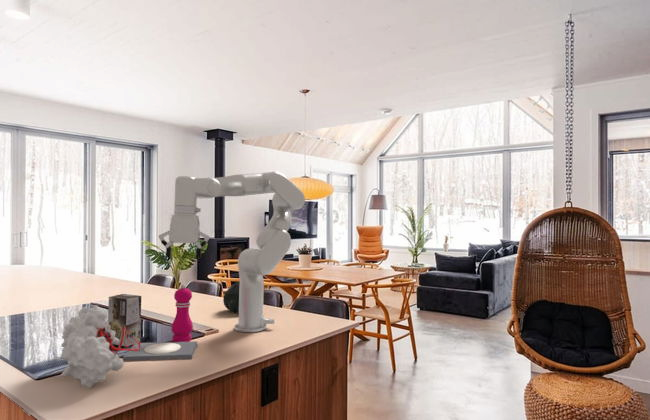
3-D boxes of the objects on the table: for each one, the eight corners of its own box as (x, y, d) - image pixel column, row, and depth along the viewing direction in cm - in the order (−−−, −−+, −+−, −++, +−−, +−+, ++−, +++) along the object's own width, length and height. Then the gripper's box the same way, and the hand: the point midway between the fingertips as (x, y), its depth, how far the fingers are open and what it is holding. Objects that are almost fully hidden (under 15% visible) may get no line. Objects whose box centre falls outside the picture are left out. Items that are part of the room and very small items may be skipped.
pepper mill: (195, 338, 154) (197, 282, 154) (187, 343, 146) (189, 285, 147) (176, 337, 154) (178, 282, 155) (167, 342, 147) (169, 285, 147)
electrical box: (141, 342, 147) (142, 295, 147) (125, 347, 141) (126, 298, 141) (122, 338, 151) (124, 293, 151) (106, 343, 145) (108, 296, 145)
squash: (250, 295, 210) (233, 274, 204) (266, 301, 199) (248, 279, 192) (230, 316, 203) (211, 295, 197) (245, 324, 192) (226, 302, 185)
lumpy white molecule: (134, 393, 122) (97, 332, 134) (162, 347, 118) (120, 287, 129) (62, 418, 105) (26, 345, 117) (91, 364, 101) (51, 294, 112)
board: (197, 344, 145) (197, 340, 145) (191, 358, 132) (191, 353, 132) (135, 346, 142) (135, 342, 142) (123, 360, 128) (123, 356, 128)
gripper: (211, 212, 156) (209, 258, 156) (162, 210, 153) (160, 258, 153) (209, 211, 149) (207, 260, 149) (157, 210, 146) (155, 260, 146)
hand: (183, 259), depth 151 cm, fingers open, 9 cm apart
